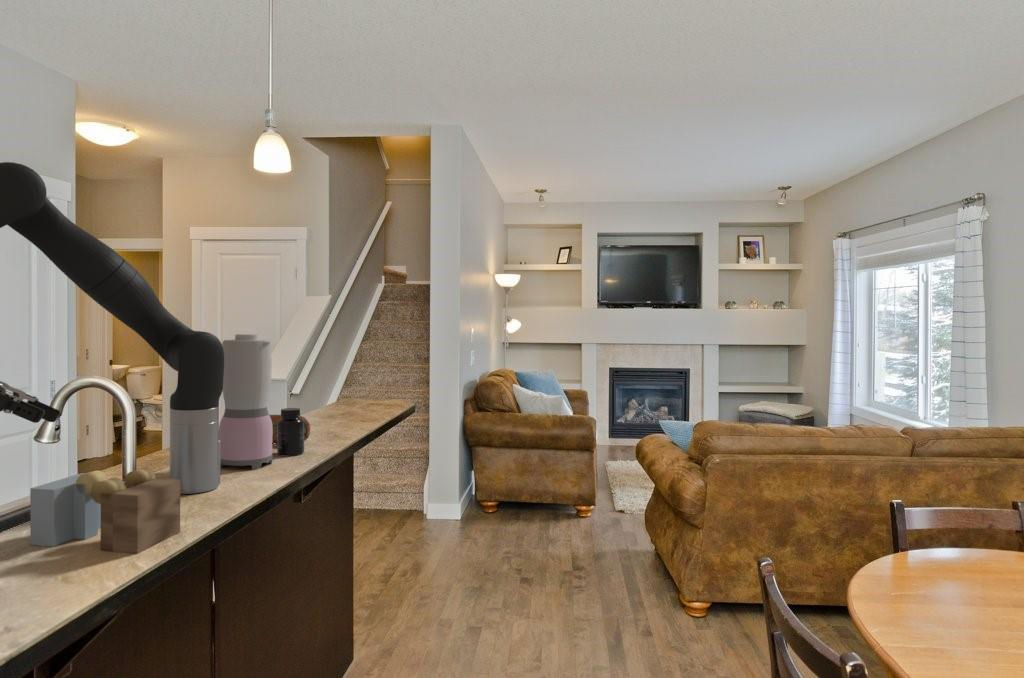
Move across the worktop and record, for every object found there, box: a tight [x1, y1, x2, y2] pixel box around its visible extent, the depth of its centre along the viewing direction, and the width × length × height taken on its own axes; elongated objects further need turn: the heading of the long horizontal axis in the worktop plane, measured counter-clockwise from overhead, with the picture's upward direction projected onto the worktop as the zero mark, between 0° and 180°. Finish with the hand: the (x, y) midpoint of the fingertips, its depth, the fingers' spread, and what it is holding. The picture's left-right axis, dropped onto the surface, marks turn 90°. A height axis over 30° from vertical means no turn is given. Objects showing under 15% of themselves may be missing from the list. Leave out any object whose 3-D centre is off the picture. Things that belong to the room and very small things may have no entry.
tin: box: [269, 414, 311, 443], centre depth 182 cm, size 15×3×8 cm, turn 81°
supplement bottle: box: [276, 407, 305, 456], centre depth 169 cm, size 7×7×12 cm
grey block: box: [29, 470, 108, 548], centre depth 104 cm, size 10×8×11 cm
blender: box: [219, 333, 274, 470], centre depth 155 cm, size 16×12×32 cm
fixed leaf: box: [91, 466, 181, 554], centre depth 103 cm, size 10×8×11 cm
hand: (49, 417), depth 103 cm, fingers open, 8 cm apart
